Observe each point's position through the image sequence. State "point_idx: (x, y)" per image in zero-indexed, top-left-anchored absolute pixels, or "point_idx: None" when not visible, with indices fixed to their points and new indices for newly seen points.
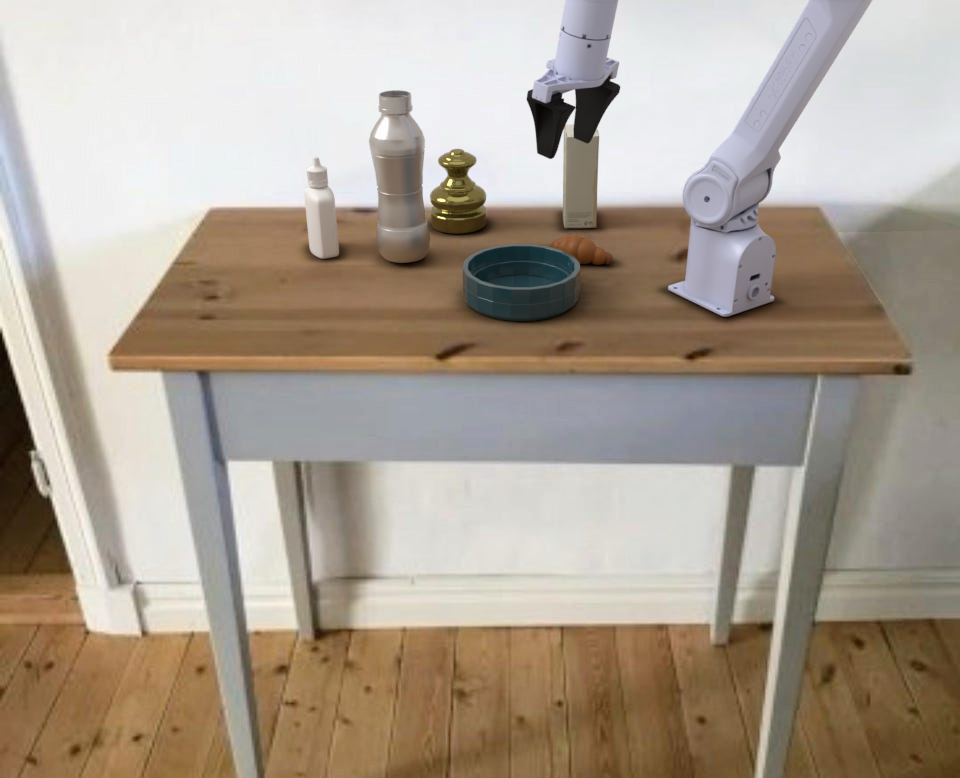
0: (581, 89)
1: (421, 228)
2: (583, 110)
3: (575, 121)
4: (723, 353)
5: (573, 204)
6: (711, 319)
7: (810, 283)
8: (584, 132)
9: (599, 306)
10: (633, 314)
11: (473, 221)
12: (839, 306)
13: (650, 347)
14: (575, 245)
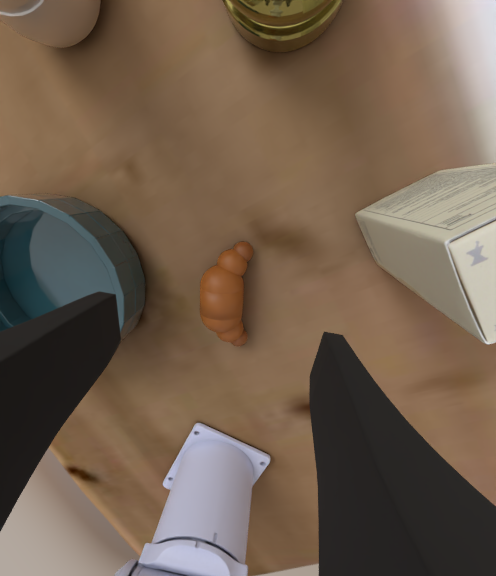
0: (377, 555)
1: (9, 16)
2: (341, 445)
3: (335, 371)
4: (97, 490)
5: (373, 234)
6: (157, 470)
7: (298, 530)
8: (316, 388)
9: (114, 369)
10: (119, 406)
11: (253, 35)
12: (253, 553)
13: (65, 438)
14: (202, 308)
